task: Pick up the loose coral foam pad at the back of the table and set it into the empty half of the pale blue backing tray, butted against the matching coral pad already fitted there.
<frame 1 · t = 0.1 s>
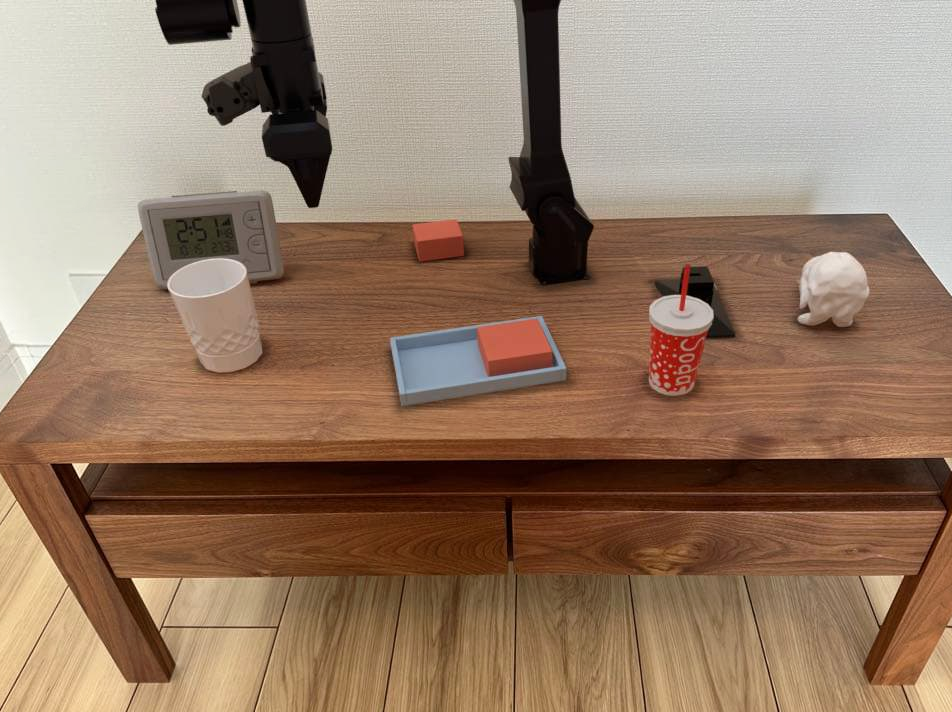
hand: (312, 189, 83), 15 cm above the table, tool pointing down, fingers open, 9 cm apart
backing tray: (476, 367, 82), on the table
white cup: (232, 356, 85), on the table
digital clock: (224, 279, 98), on the table
beverage cup: (670, 386, 79), on the table
black stand: (692, 309, 90), on the table
white lumpy figurine: (818, 311, 89), on the table
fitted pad: (514, 357, 82), resting on backing tray
loose pad: (439, 250, 102), on the table
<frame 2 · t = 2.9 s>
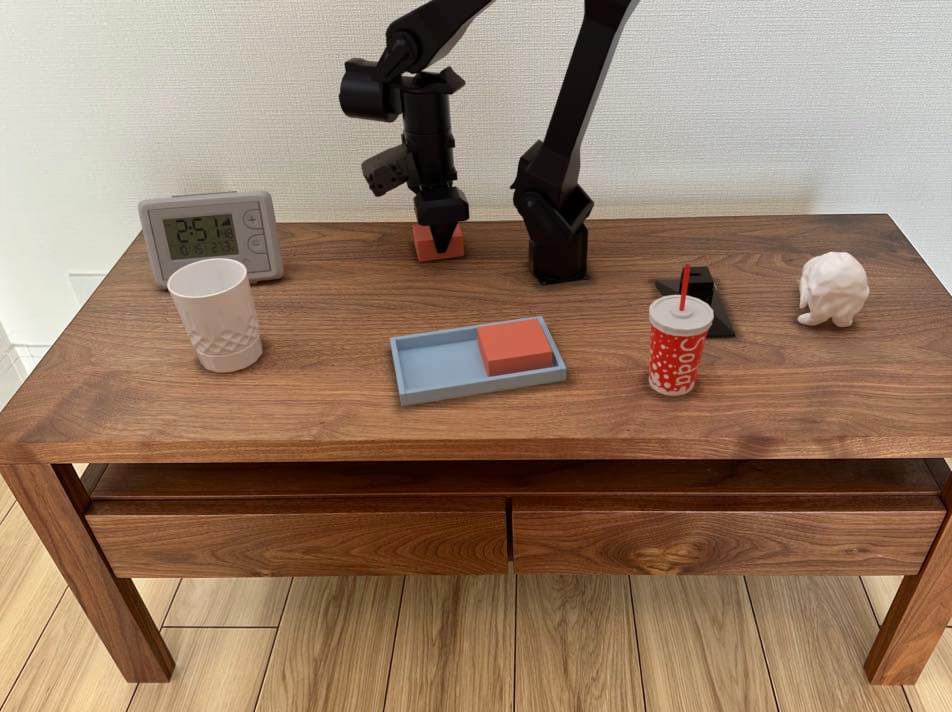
hand: (438, 243, 101), 1 cm above the table, tool pointing down, fingers closed on loose pad, 5 cm apart
loose pad: (439, 250, 102), on the table, touching gripper
everything else where it was.
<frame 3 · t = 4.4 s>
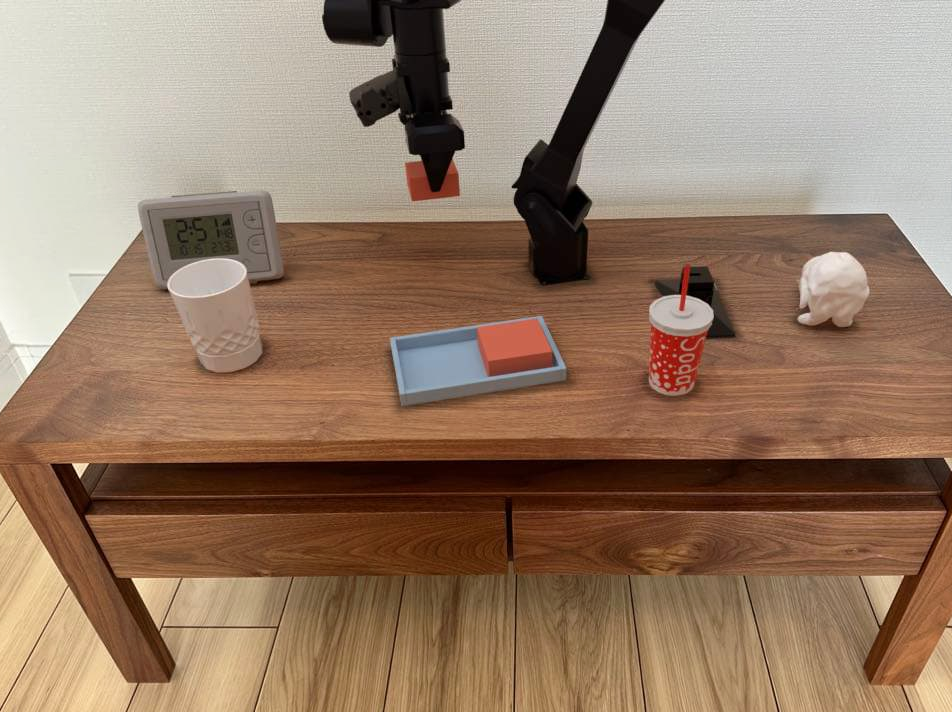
hand: (432, 182, 94), 10 cm above the table, tool pointing down, fingers closed on loose pad, 5 cm apart
loose pad: (433, 190, 95), point 9 cm above the table, touching gripper
everything else where it was.
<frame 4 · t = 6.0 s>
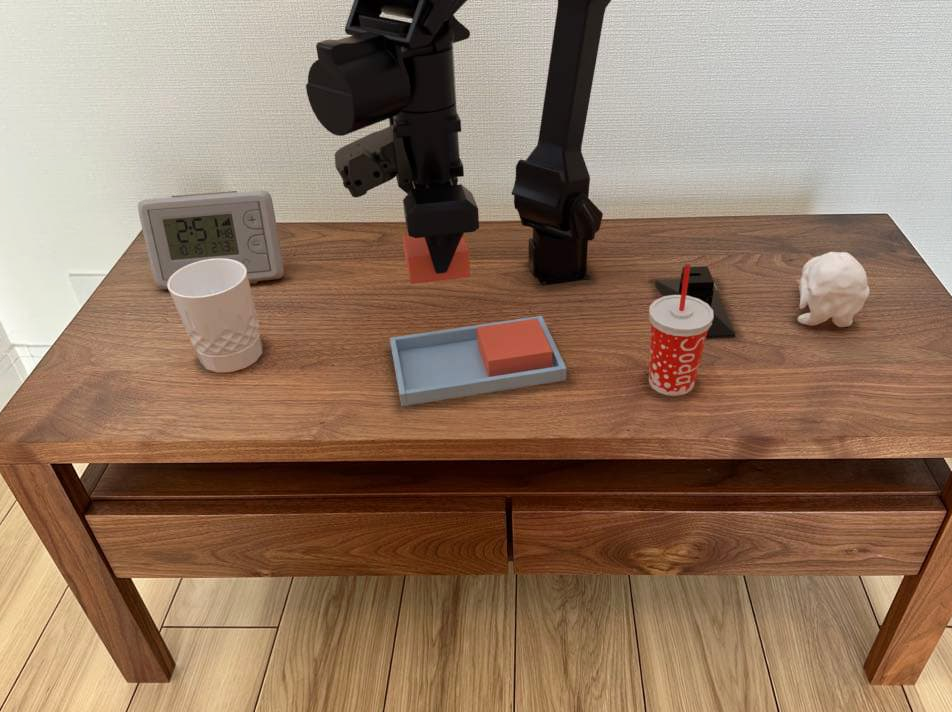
hand: (437, 259, 77), 11 cm above the table, tool pointing down, fingers closed on loose pad, 5 cm apart
loose pad: (437, 268, 78), point 10 cm above the table, touching gripper
everything else where it was.
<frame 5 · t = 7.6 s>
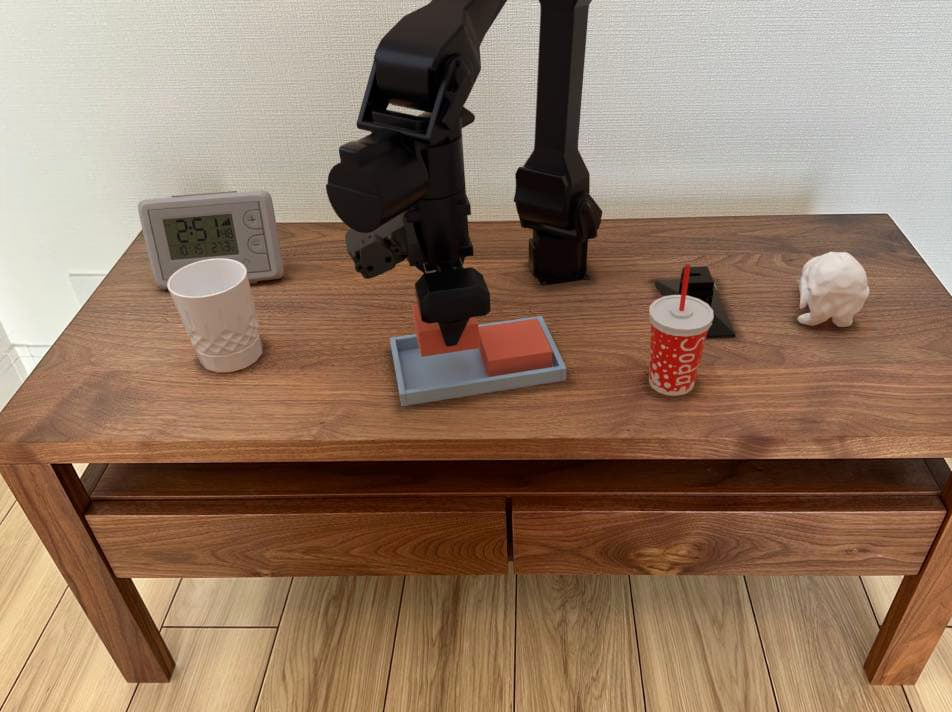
hand: (447, 330, 78), 5 cm above the table, tool pointing down, fingers closed on loose pad, 5 cm apart
loose pad: (446, 339, 78), point 4 cm above the table, touching gripper
everything else where it was.
when the fingers open (2 cm above the table, at t = 9.5 s): loose pad stays where it is, resting on backing tray.
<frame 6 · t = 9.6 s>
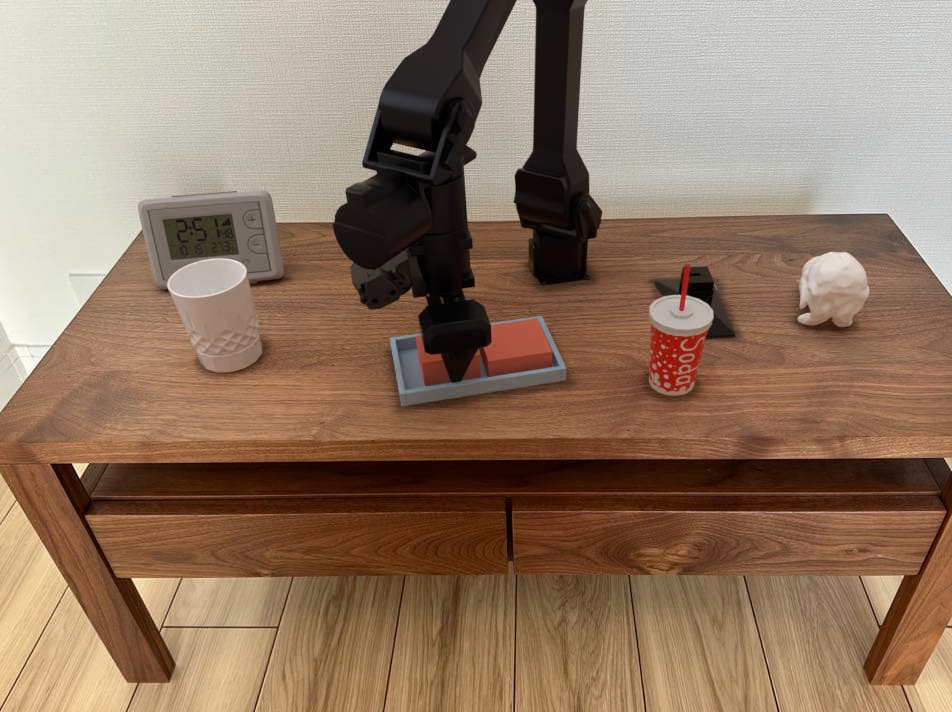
hand: (449, 357, 80), 2 cm above the table, tool pointing down, fingers open, 8 cm apart
loose pad: (449, 367, 81), resting on backing tray
everything else where it was.
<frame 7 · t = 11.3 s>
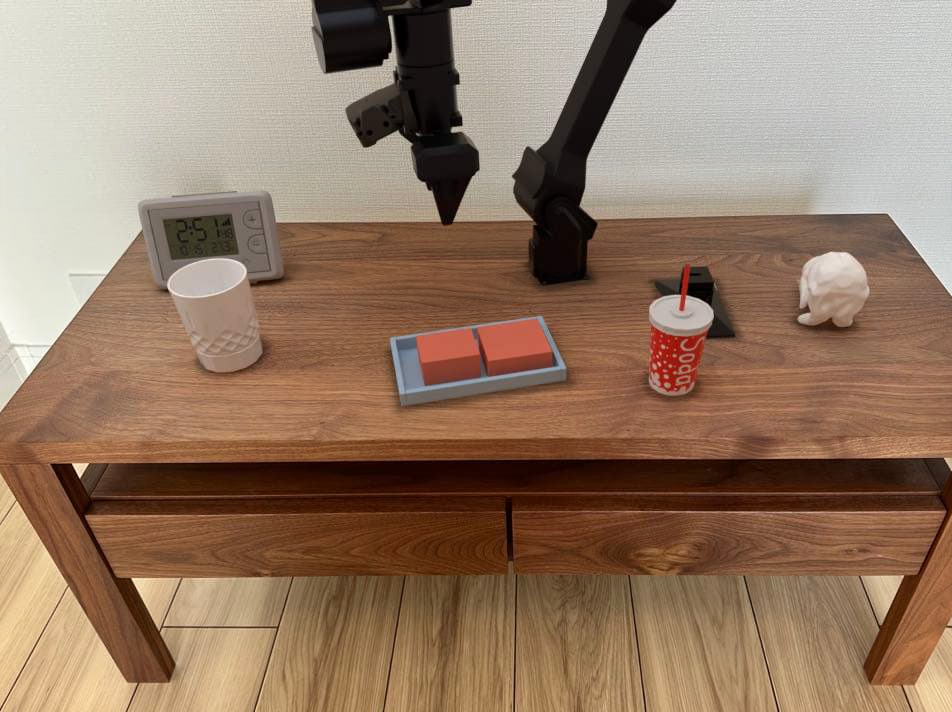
hand: (439, 206, 85), 12 cm above the table, tool pointing down, fingers open, 9 cm apart
nothing on the table moved.
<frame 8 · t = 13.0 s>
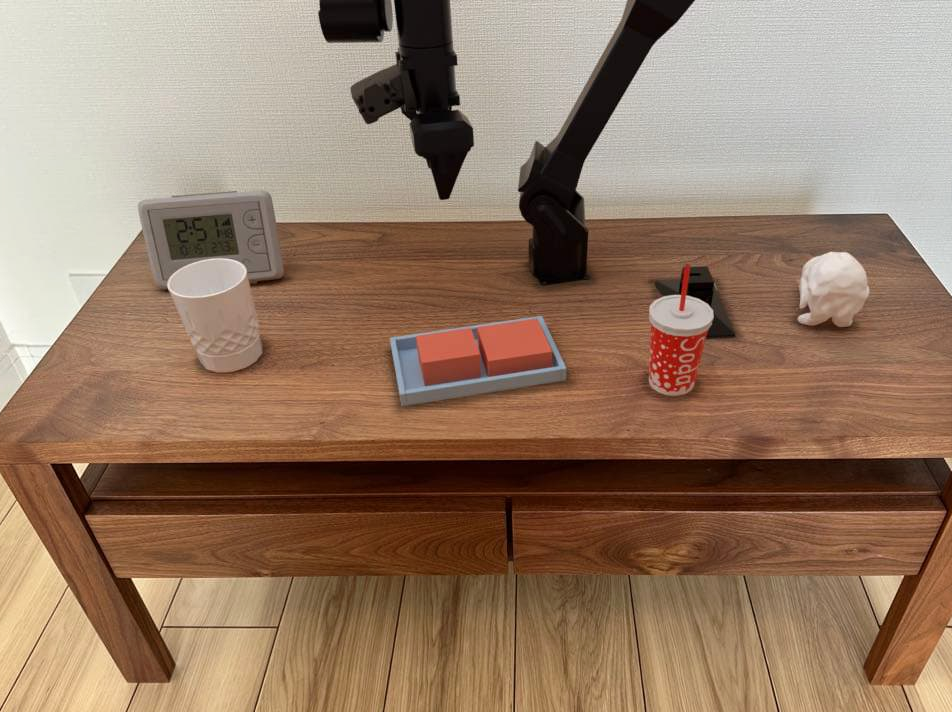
hand: (438, 183, 90), 12 cm above the table, tool pointing down, fingers open, 9 cm apart
nothing on the table moved.
at the end: loose pad inside the target area in the backing tray (1.4 cm from its centre), point 0.5 cm above the backing tray's base; loose pad 7.1 cm from the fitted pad (horizontally); loose pad tilted 0° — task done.
